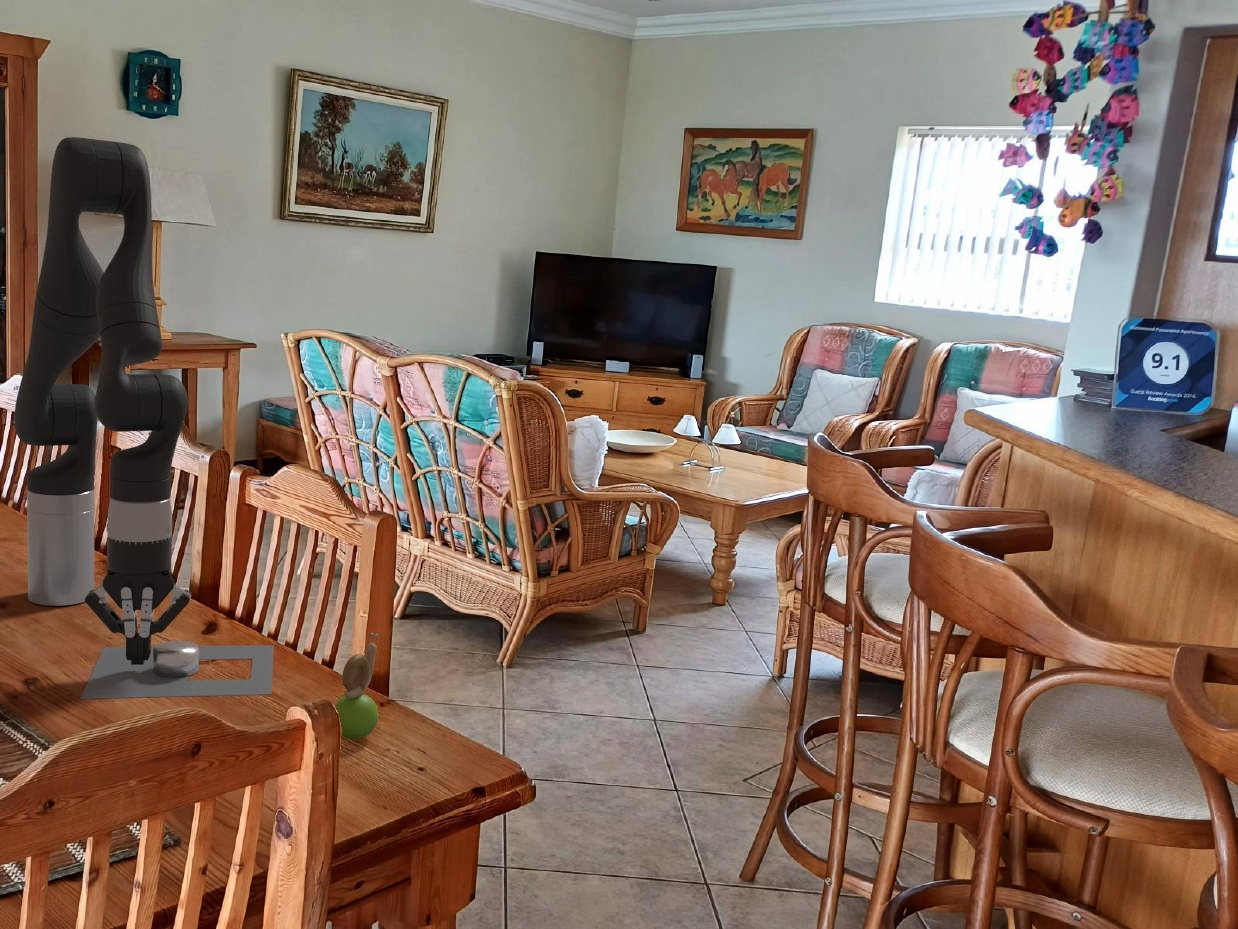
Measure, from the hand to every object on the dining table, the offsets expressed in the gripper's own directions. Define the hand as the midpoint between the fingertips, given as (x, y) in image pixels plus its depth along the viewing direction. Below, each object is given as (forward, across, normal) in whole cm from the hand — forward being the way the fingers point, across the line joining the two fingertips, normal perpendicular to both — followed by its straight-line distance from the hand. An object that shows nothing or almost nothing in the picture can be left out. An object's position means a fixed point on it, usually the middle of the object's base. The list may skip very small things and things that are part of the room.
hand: (138, 662), depth 147 cm
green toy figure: (+3, -27, +19) cm, 33 cm away
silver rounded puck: (+1, -5, 0) cm, 5 cm away
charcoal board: (+3, -6, 0) cm, 6 cm away
